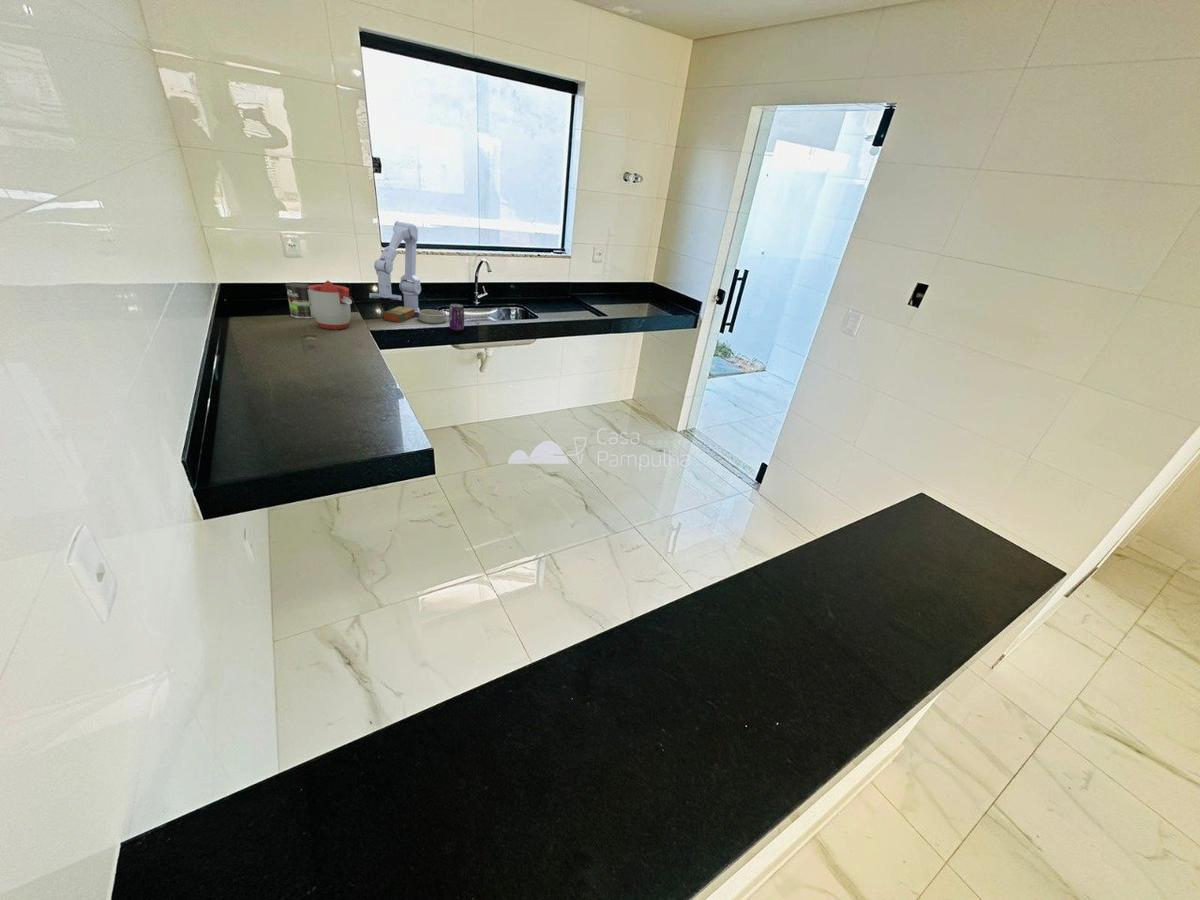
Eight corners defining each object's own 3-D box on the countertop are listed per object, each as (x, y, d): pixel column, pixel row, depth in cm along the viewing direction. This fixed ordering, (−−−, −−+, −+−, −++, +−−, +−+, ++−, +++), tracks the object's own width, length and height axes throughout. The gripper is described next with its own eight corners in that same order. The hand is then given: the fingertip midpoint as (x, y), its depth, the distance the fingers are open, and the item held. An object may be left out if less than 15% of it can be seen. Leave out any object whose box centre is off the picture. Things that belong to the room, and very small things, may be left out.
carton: (414, 316, 244) (414, 308, 242) (399, 322, 230) (399, 314, 228) (399, 313, 245) (399, 305, 243) (383, 319, 230) (383, 311, 228)
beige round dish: (419, 316, 246) (418, 308, 244) (445, 318, 250) (445, 310, 248) (418, 322, 235) (417, 314, 233) (445, 324, 239) (445, 316, 237)
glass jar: (301, 319, 212) (296, 287, 205) (285, 315, 215) (279, 283, 208) (321, 316, 221) (317, 285, 214) (305, 312, 223) (300, 281, 217)
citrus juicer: (341, 334, 202) (335, 286, 192) (305, 326, 204) (297, 279, 194) (364, 326, 215) (359, 282, 206) (330, 320, 217) (324, 275, 208)
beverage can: (461, 332, 231) (461, 307, 225) (447, 330, 230) (447, 305, 225) (465, 328, 237) (465, 305, 232) (451, 326, 237) (451, 302, 231)
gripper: (367, 285, 223) (370, 314, 229) (400, 288, 227) (401, 316, 234) (369, 283, 229) (371, 310, 235) (401, 285, 233) (402, 313, 239)
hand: (386, 313), depth 235 cm, fingers closed
